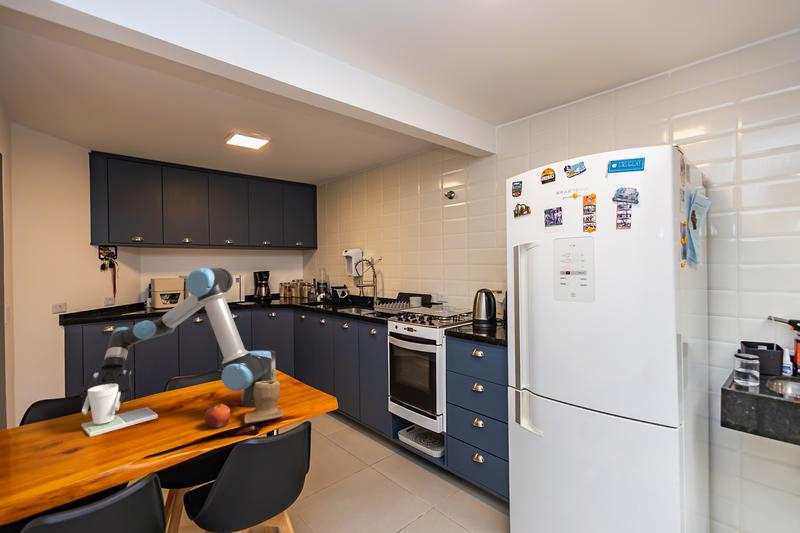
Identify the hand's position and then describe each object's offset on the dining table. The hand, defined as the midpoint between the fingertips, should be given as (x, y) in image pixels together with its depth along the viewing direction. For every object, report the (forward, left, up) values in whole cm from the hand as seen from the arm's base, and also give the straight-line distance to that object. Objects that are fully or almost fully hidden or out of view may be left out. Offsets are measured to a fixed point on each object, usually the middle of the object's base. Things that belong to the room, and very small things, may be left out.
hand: (100, 411), depth 143 cm
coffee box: (+5, -72, -8) cm, 73 cm away
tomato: (-32, -30, -8) cm, 45 cm away
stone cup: (-41, -45, -8) cm, 61 cm away
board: (+3, -7, -7) cm, 10 cm away
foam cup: (+3, -2, -5) cm, 6 cm away
